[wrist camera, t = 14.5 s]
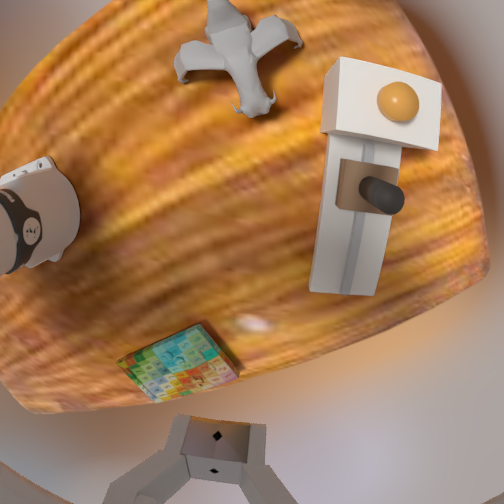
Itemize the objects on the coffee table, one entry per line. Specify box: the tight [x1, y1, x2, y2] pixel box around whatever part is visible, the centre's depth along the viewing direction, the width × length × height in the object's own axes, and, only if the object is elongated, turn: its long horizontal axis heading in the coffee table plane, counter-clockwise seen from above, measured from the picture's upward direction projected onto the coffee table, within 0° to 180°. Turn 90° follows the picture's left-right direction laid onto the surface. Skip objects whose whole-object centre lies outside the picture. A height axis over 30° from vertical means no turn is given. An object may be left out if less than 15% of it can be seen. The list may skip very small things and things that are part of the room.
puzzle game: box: [116, 324, 240, 403], centre depth 49 cm, size 12×5×20 cm
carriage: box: [335, 158, 404, 216], centre depth 31 cm, size 7×6×10 cm
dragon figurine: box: [174, 0, 303, 118], centre depth 29 cm, size 15×15×9 cm
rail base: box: [308, 56, 441, 296], centre depth 34 cm, size 13×30×10 cm, turn 176°
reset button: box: [377, 82, 419, 121], centre depth 24 cm, size 4×4×2 cm
